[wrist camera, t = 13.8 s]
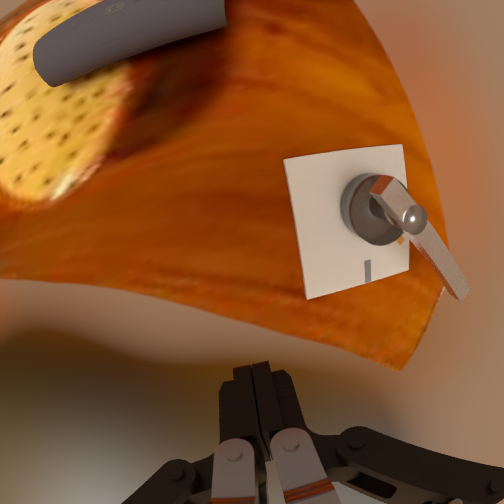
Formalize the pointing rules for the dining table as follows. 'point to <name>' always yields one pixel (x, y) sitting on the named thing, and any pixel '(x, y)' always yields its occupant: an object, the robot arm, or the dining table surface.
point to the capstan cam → (398, 224)
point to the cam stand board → (340, 219)
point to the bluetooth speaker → (120, 34)
